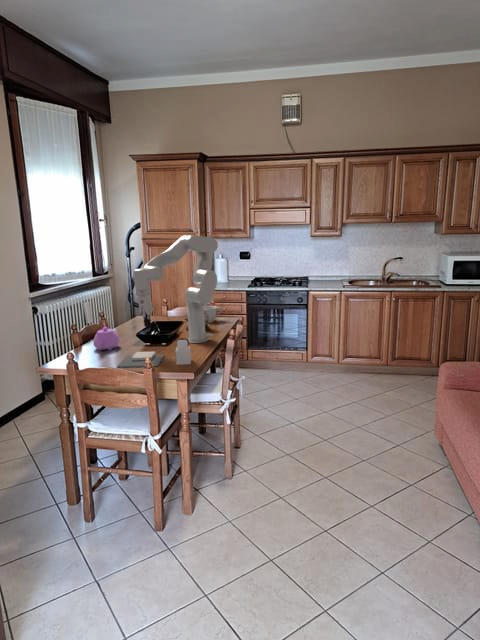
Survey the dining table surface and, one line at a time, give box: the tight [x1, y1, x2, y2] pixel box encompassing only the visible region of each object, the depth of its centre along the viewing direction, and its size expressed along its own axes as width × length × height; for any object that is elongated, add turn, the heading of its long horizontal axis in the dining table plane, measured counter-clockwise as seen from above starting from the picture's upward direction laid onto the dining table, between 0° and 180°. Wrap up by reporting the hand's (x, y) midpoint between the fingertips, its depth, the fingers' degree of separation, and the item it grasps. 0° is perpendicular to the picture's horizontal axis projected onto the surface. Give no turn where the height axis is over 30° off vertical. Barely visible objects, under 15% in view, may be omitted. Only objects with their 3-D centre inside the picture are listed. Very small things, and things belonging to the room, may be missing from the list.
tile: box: [131, 351, 156, 361], centre depth 228 cm, size 10×2×10 cm
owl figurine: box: [183, 310, 212, 333], centre depth 283 cm, size 18×12×17 cm, turn 65°
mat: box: [116, 354, 165, 368], centre depth 224 cm, size 20×17×1 cm
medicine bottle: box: [175, 338, 192, 366], centre depth 219 cm, size 7×7×12 cm
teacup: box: [203, 305, 223, 323], centre depth 305 cm, size 12×15×10 cm
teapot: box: [93, 326, 120, 352], centre depth 248 cm, size 20×14×12 cm
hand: (147, 325), depth 236 cm, fingers closed
